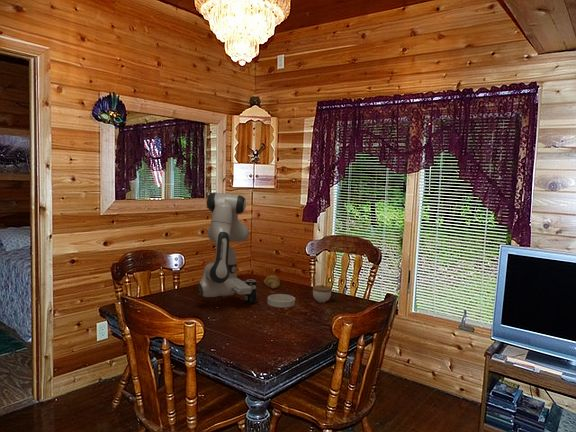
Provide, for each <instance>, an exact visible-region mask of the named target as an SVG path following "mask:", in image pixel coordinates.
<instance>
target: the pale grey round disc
mask: <svg viewBox="0 0 576 432" xmlns="http://www.w3.org/2000/svg"><path fill="white" fill-rule="evenodd" d="M266 301H267V303H266V304H268V305H269V306H271V307H274V308H291V307H294V306H295V305H296V297H295V296H293V295H291V294H286V293H285V294H283V293H276V294H275V293H274V294H270V295H268V296H267V300H266Z"/></svg>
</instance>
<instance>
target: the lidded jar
mask: <svg viewBox="0 0 576 432" xmlns="http://www.w3.org/2000/svg"><path fill="white" fill-rule="evenodd" d="M312 296H313V298H314V300H315V301H316V302H317V301H318V302H317V303H322V302H323V303H327V302H328V301H329V300H330V298H331V296H332V287H330V286H327V285H324V284H321V285H314V286H312ZM326 301H327V302H326Z"/></svg>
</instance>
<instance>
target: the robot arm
mask: <svg viewBox="0 0 576 432" xmlns="http://www.w3.org/2000/svg"><path fill="white" fill-rule="evenodd" d="M205 200H206V207H207V209H208V210H209V211H210V212H211V213H212V215H211V220H210V225H209V227H208V228H207V234H206V235H207V237H208V239H209V240H210V241H212V242H213V243H214V245H215V247H216V248H215V249H216V251H215V260H214V262H213V261H211V262H209V263H207V264H206V265H204V269H203V274H202V277H201V279H200V281H199V282H198V286H197V288H198V291H199V294H200V295H201V296H202V297H203V298H216V297H219V296H221V297H222V296H223V297H227V296H233V295H234V294H237V295H245V294H251V290H252V289H256V286H255V285H252V286H249V285H247V284H246V283H245V282H246V280H241V278H238V277H237V267H238V265H237V250H236V249H235V248H233V247H232V246H230V242H231V243H233V242H235V243H238V242H239V243H240V242H245V241H246V240H247V239H248V238H249V236H250V231H249V228H248V227H247V226H246V225H245V224H243V223H242V222H241V220H240V219H239V214H240V215H241V214H243V213H244V212H245V209H246V207H247V201H246V198H245V197H244V196H243V195H239V194H237V195H236V194H233V193H231V192H230V193H229V192H227V193H224V192H210V193H209V194H208V196H207V198H206V199H205Z"/></svg>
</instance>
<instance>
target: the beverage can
mask: <svg viewBox="0 0 576 432" xmlns="http://www.w3.org/2000/svg"><path fill="white" fill-rule="evenodd" d="M245 281H246V282H245V283H246V284H247V285H249V286H252V285H255V286H256V289H252V290H251V294H244V297H243V298H244V302H245V303H248V304H254V303H256V302H257V300H258V282H257V280H256V279H252V278H251V279H250V278H249V279H246V280H245Z"/></svg>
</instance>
